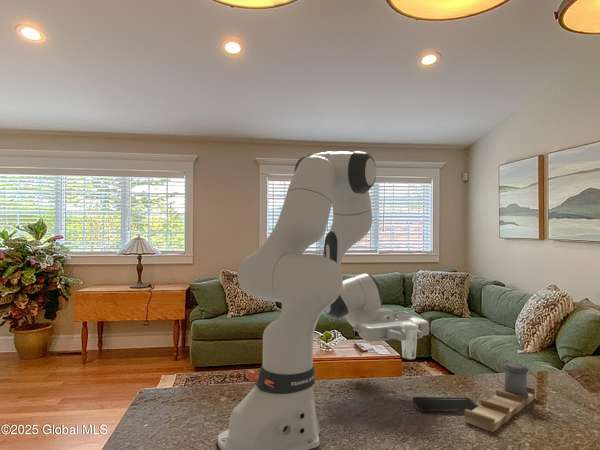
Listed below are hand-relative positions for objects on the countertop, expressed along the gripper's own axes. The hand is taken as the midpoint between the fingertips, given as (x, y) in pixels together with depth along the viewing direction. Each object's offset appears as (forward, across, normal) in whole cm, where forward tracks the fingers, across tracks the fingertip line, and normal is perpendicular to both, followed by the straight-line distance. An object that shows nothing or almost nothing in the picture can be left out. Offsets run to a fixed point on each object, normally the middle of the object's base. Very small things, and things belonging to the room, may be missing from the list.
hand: (411, 336), depth 106 cm
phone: (+6, +6, +17) cm, 19 cm away
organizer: (+12, +18, +17) cm, 27 cm away
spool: (+9, +26, +15) cm, 31 cm away
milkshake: (-1, 0, +6) cm, 6 cm away
